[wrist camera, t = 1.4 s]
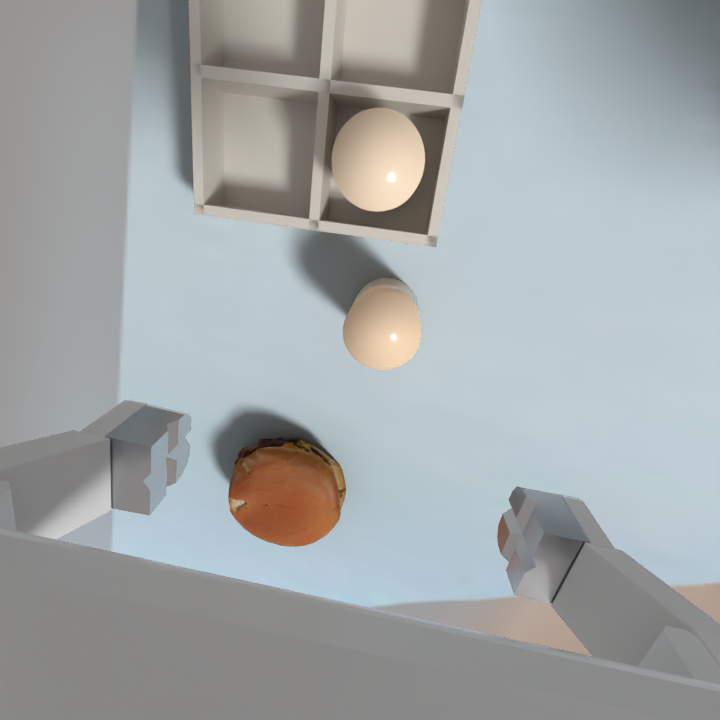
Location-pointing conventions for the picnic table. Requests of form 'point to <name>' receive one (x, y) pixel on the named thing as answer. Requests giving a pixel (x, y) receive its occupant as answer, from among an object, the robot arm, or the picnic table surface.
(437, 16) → the carton
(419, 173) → the egg
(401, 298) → the egg
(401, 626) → the robot arm
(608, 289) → the picnic table surface
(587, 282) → the picnic table surface
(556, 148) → the picnic table surface
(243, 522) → the burger
